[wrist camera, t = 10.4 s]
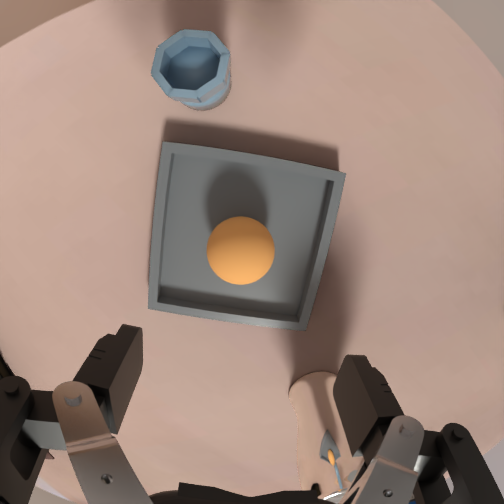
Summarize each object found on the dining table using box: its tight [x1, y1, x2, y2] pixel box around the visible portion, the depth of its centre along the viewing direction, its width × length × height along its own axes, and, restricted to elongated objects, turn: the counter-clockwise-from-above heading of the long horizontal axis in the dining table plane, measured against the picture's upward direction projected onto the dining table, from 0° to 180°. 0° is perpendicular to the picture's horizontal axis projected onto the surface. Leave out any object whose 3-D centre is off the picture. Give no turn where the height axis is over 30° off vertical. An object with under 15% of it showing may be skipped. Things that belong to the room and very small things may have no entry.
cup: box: [151, 29, 231, 111], centre depth 19 cm, size 4×4×7 cm
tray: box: [148, 142, 346, 331], centre depth 25 cm, size 14×14×2 cm
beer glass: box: [289, 371, 364, 504], centre depth 25 cm, size 7×7×15 cm
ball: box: [207, 216, 275, 285], centre depth 23 cm, size 5×5×5 cm
